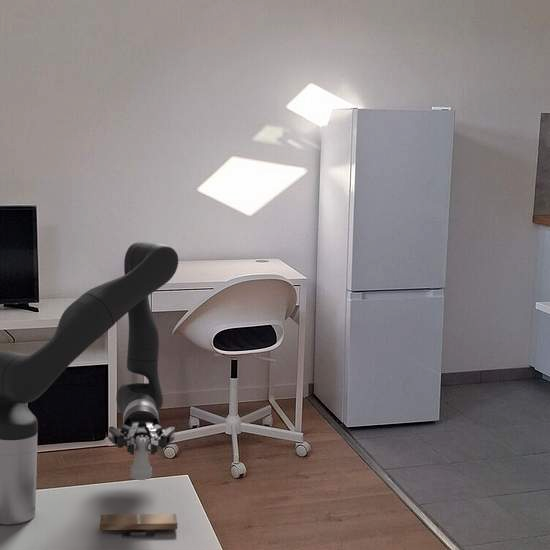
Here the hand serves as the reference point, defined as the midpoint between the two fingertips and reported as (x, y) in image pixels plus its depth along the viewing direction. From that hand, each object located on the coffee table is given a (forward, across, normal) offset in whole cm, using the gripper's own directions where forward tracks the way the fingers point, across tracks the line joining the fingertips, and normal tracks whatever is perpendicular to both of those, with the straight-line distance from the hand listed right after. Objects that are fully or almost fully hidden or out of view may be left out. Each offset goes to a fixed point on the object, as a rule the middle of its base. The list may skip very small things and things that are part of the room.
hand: (142, 449), depth 161 cm
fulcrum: (-3, 0, +17) cm, 18 cm away
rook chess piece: (-3, 0, +7) cm, 7 cm away
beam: (-3, 0, +16) cm, 16 cm away
